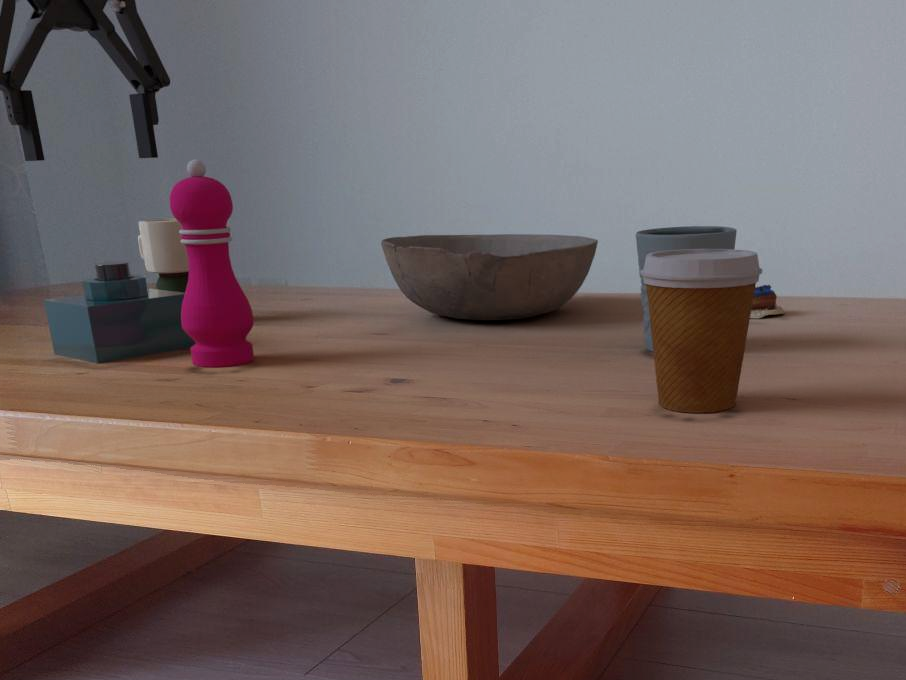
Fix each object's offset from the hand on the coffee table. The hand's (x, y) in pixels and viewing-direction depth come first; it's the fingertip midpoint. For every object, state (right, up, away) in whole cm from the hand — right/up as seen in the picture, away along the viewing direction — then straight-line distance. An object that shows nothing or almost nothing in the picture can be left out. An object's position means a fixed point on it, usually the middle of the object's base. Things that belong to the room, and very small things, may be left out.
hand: (94, 159), depth 107 cm
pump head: (0, -12, +5) cm, 13 cm away
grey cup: (+63, -20, 0) cm, 66 cm away
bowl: (+41, -11, +25) cm, 50 cm away
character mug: (0, -12, +26) cm, 29 cm away
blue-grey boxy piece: (+1, -19, +7) cm, 20 cm away
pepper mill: (+14, -22, -1) cm, 26 cm away
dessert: (+75, -12, +20) cm, 78 cm away
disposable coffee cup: (+61, -29, -24) cm, 71 cm away
